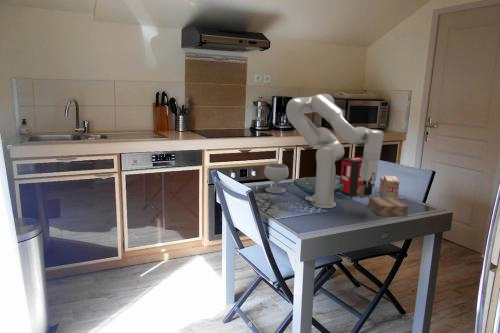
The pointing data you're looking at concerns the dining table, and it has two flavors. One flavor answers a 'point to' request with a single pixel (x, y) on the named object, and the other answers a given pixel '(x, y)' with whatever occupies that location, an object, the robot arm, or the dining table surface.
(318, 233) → the dining table surface
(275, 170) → the chalice
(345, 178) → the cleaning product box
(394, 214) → the walnut base block
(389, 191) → the stack of blocks
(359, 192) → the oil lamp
